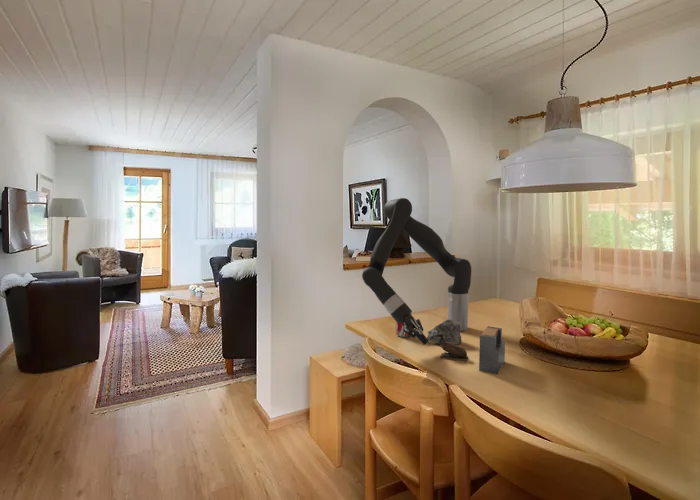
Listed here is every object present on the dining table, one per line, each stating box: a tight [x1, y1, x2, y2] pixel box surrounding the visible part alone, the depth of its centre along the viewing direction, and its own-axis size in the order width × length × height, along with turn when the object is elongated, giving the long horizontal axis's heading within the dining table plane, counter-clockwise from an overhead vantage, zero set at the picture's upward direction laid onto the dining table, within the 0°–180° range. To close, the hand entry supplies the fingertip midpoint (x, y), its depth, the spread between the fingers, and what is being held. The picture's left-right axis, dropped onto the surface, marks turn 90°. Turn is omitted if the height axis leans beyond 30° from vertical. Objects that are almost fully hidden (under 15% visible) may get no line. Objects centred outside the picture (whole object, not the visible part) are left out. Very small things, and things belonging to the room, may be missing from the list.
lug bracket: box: [478, 326, 506, 375], centre depth 139 cm, size 13×6×12 cm, turn 149°
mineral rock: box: [426, 319, 462, 345], centre depth 165 cm, size 13×11×10 cm
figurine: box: [430, 334, 469, 363], centre depth 148 cm, size 14×4×9 cm, turn 66°
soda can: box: [395, 312, 413, 338], centre depth 175 cm, size 7×7×12 cm
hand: (426, 343), depth 151 cm, fingers closed
